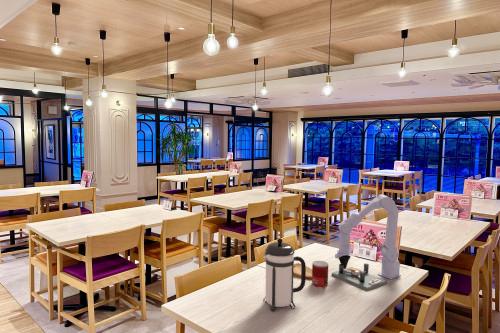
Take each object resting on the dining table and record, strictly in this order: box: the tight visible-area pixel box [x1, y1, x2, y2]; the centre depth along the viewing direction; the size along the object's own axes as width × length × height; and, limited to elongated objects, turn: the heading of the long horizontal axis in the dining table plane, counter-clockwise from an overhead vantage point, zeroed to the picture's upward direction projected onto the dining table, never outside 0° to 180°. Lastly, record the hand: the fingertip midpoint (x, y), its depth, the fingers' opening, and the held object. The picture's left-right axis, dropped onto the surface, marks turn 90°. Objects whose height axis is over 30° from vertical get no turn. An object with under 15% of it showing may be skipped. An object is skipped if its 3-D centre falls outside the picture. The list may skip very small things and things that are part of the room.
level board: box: [331, 266, 388, 292], centre depth 182 cm, size 16×23×4 cm
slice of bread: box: [293, 262, 312, 281], centre depth 190 cm, size 18×18×4 cm
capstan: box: [338, 263, 370, 282], centre depth 184 cm, size 14×16×4 cm
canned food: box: [311, 260, 329, 288], centre depth 175 cm, size 8×8×11 cm
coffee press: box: [262, 237, 307, 313], centre depth 153 cm, size 17×16×30 cm
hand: (343, 268), depth 189 cm, fingers closed
